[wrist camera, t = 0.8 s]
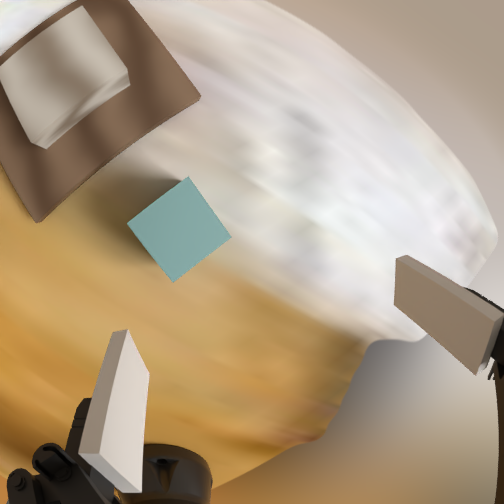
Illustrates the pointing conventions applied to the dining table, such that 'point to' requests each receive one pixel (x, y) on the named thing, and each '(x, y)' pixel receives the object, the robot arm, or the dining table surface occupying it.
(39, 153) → the base
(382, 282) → the dining table surface
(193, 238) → the cube
